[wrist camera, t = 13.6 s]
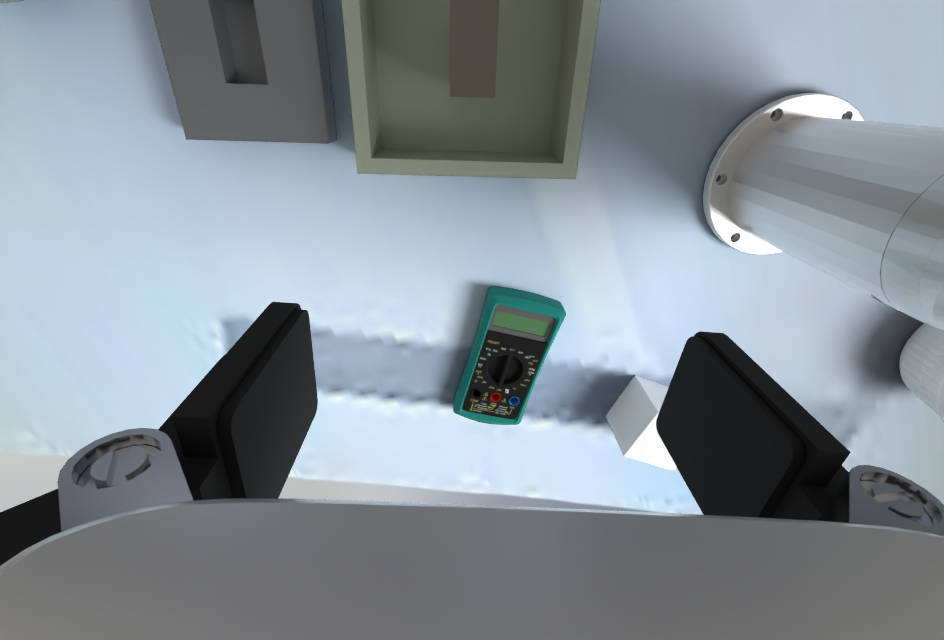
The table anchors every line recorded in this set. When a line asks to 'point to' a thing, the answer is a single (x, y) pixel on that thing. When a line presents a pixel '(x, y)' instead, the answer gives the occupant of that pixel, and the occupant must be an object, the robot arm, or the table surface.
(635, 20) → the table surface
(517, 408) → the digital multimeter
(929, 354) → the ramekin
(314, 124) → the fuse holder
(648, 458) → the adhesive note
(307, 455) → the table surface
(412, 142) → the parts tray
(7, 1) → the air freshener
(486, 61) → the block
